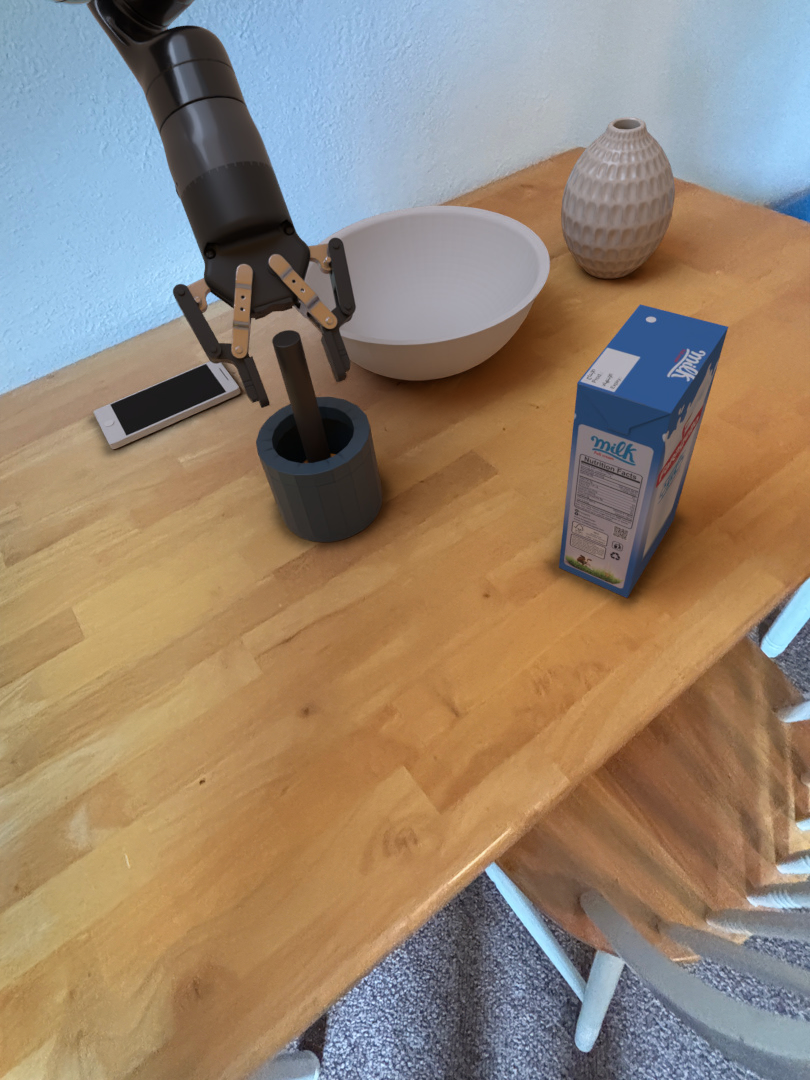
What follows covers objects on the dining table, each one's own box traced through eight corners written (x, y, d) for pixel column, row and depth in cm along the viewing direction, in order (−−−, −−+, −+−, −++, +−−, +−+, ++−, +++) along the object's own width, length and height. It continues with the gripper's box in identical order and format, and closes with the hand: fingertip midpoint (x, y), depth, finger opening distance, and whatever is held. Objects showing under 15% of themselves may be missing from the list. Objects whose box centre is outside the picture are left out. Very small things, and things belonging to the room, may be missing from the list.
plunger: (319, 523, 66) (271, 365, 52) (296, 493, 69) (245, 336, 55) (363, 499, 68) (327, 340, 54) (339, 471, 70) (299, 312, 56)
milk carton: (626, 599, 58) (670, 412, 43) (558, 568, 61) (576, 382, 46) (673, 519, 63) (728, 325, 48) (608, 494, 66) (640, 303, 50)
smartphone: (95, 416, 81) (91, 409, 80) (219, 363, 85) (217, 357, 84) (112, 450, 77) (108, 444, 76) (242, 393, 81) (239, 387, 80)
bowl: (284, 324, 89) (264, 249, 81) (478, 260, 94) (476, 183, 86) (361, 457, 72) (344, 378, 65) (592, 371, 77) (602, 288, 69)
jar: (309, 559, 65) (286, 492, 58) (264, 495, 70) (238, 427, 63) (402, 509, 67) (390, 439, 60) (351, 452, 73) (335, 382, 66)
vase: (538, 258, 93) (545, 119, 80) (623, 230, 95) (642, 91, 82) (592, 305, 85) (609, 160, 72) (683, 274, 87) (715, 127, 74)
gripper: (125, 187, 50) (213, 416, 51) (318, 134, 52) (396, 354, 54) (143, 229, 57) (220, 427, 59) (311, 180, 59) (380, 373, 61)
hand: (304, 391), depth 56 cm, fingers open, 6 cm apart
